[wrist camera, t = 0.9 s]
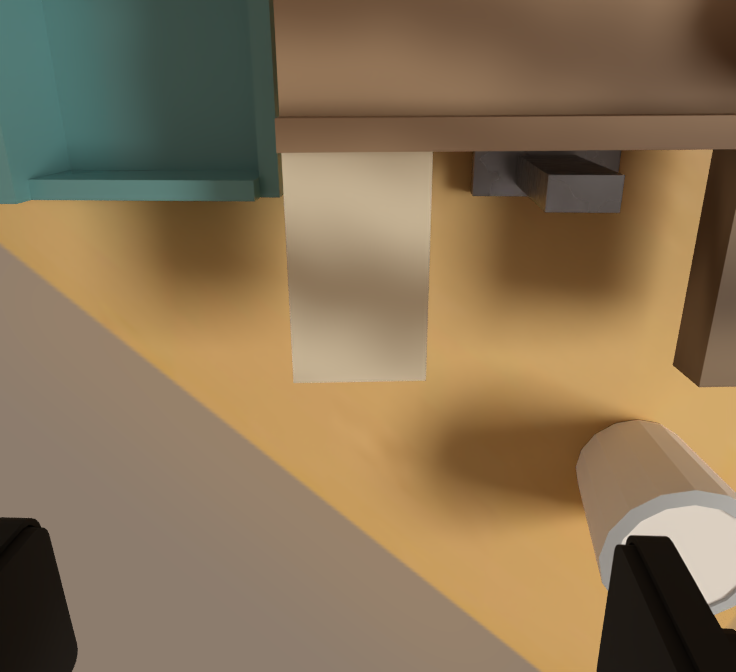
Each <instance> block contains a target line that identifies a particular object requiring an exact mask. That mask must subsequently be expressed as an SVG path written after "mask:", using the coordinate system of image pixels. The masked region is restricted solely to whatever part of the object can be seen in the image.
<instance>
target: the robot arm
mask: <svg viewBox="0 0 736 672" xmlns="http://www.w3.org/2000/svg"><path fill="white" fill-rule="evenodd" d="M77 651H78V648H77V642H76V638H75V635H74V631H73V627H72V623H71V619H70V615H69V611H68V607H67V603H66V599H65V595H64V591H63V588H62V583H61V579H60V575H59V571H58V567H57V563H56V559H55V556H54V552H53V548H52V544H51V540H50V536H49V533H48V531H47V530H46V529H45V528H41V526H40V524H39V522H38V521H37V520H36V519H32V518H4V517H2V518H0V672H72V670H73V668H74V665H75V662H76V659H77ZM597 672H736V631H735V630H734V629H723V628H721V627H720V625H719V623H718V621H717V619H716V618H715V616H714V614H713V612H712V611H711V609H710V607H709V605H708V604H707V602H706V600H705V598H704V596H703V595H702V593H701V591H700V589H699V588H698V586H697V584H696V582H695V580H694V579H693V577H692V575H691V573H690V572H689V570H688V568H687V566H686V565H685V563H684V561H683V559H682V557H681V556H680V554H679V552H678V550H677V549H676V547H675V545H674V543H673V542H672V540H671V539H670V538H669V537H667V536H645V535H630V536H629V537H628V538H627V540H626V544H618V545H616V547H615V550H614V555H613V562H612V569H611V575H610V582H609V589H608V596H607V603H606V609H605V616H604V623H603V630H602V636H601V643H600V650H599V657H598V664H597Z"/></svg>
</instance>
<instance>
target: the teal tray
mask: <svg viewBox="0 0 736 672" xmlns="http://www.w3.org/2000/svg"><path fill="white" fill-rule="evenodd" d="M277 117H279V98H278V79H277V61H276V42H275V23H274V4H273V0H0V204H18V203H22V202H26V201H29V200H131V201H256V200H257V199H259V198H260V197H281V196H282V195H284V192H283V174H282V155H281V153H276V135H275V118H277Z"/></svg>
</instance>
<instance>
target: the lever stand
mask: <svg viewBox="0 0 736 672" xmlns="http://www.w3.org/2000/svg"><path fill="white" fill-rule="evenodd" d="M620 157H621V150H574V151H473V159H472V178H471V194H472V196H528V197H530V198H531V199H532V200H533V201H534V202H535V203H536V204H537V205H538V206H539V207H540V208H541V209H542V210H543V211H544V212H572V213H620V207H621V200H622V193H623V186H624V179H625V175H623V174H621V173H618V171H619V164H620Z"/></svg>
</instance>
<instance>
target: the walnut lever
mask: <svg viewBox="0 0 736 672" xmlns="http://www.w3.org/2000/svg"><path fill="white" fill-rule="evenodd" d="M273 4H274V23H275V42H276V61H277V79H278V98H279V117H277V118H275V135H276V153H281V155H282V174H283V192H284V211H285V230H286V249H287V268H288V287H289V305H290V324H291V343H292V362H293V381H294V383H323V382H377V381H426V358H427V326H428V293H429V261H430V229H431V197H432V165H433V152H453V151H574V150H695V149H713V153H712V158H711V164H710V169H709V174H708V180H707V185H706V190H705V196H704V201H703V206H702V212H701V217H700V223H699V228H698V233H697V239H696V244H695V249H694V255H693V260H692V265H691V271H690V276H689V281H688V287H687V292H686V297H685V303H684V308H683V314H682V319H681V324H680V330H679V335H678V340H677V346H676V351H675V356H674V362H673V366H674V367H676V368H677V369H678V370H679V371H680V372H682V373H683V374H684V375H685V376H686V377H688V378H689V379H690V380H691V381H692V382H693V383H695V384H696V385H697V386H698V387H735V386H736V0H273Z"/></svg>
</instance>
